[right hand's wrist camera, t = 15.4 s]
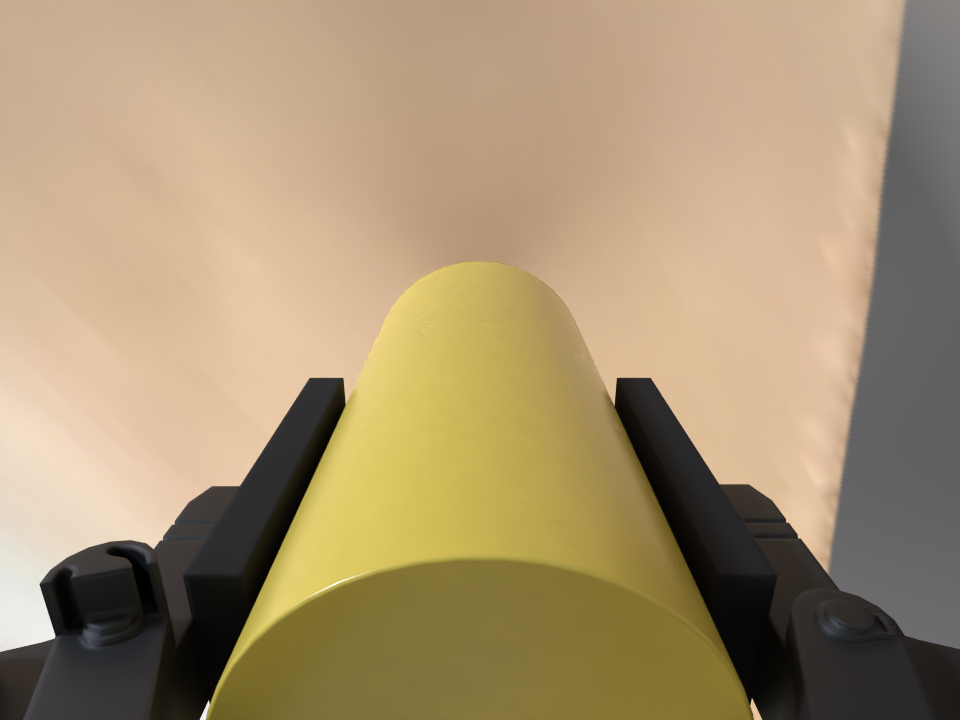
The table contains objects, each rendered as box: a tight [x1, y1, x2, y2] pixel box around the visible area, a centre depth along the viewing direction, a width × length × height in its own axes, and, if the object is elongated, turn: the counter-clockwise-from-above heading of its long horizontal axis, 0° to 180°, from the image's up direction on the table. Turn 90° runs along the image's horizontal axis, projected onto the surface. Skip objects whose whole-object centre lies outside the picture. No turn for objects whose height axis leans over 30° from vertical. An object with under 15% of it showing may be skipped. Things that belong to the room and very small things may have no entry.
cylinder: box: [206, 262, 754, 720], centre depth 13 cm, size 6×6×13 cm
